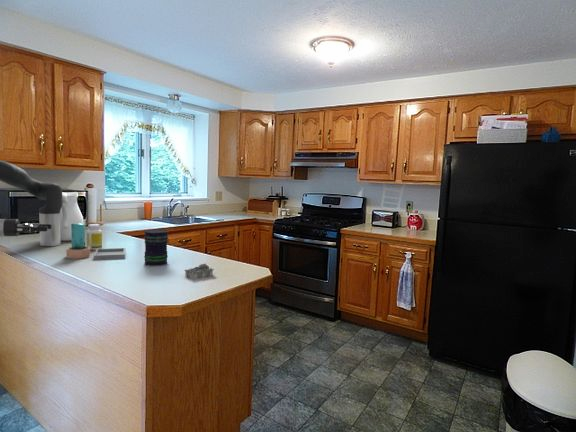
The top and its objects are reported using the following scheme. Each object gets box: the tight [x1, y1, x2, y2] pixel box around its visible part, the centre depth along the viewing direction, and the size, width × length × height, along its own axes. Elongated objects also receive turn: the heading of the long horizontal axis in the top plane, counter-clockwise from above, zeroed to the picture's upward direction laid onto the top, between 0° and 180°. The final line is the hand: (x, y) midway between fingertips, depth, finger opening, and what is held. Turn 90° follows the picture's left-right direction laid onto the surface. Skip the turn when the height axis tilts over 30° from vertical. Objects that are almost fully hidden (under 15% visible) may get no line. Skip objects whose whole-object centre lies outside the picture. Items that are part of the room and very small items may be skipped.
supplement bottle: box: [85, 223, 103, 251], centre depth 181 cm, size 7×7×13 cm
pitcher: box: [60, 191, 85, 242], centre depth 200 cm, size 24×17×28 cm
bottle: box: [70, 222, 86, 250], centre depth 162 cm, size 6×6×15 cm
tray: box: [93, 247, 126, 261], centre depth 168 cm, size 16×13×2 cm
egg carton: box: [184, 263, 215, 280], centre depth 140 cm, size 11×8×4 cm
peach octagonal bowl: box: [65, 245, 91, 260], centre depth 163 cm, size 9×9×4 cm
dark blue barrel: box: [143, 229, 169, 267], centre depth 156 cm, size 10×10×15 cm
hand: (49, 227), depth 157 cm, fingers open, 8 cm apart
